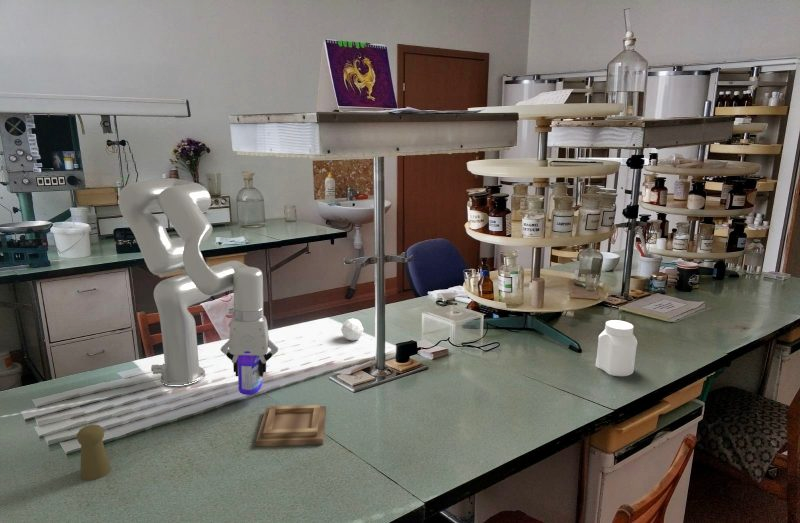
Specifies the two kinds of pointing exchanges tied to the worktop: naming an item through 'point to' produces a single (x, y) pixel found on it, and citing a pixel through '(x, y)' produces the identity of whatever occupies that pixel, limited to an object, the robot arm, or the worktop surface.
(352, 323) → the geometric ball
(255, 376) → the bottle
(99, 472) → the tan game pawn
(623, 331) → the jar
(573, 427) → the worktop surface
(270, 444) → the walnut base
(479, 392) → the worktop surface
